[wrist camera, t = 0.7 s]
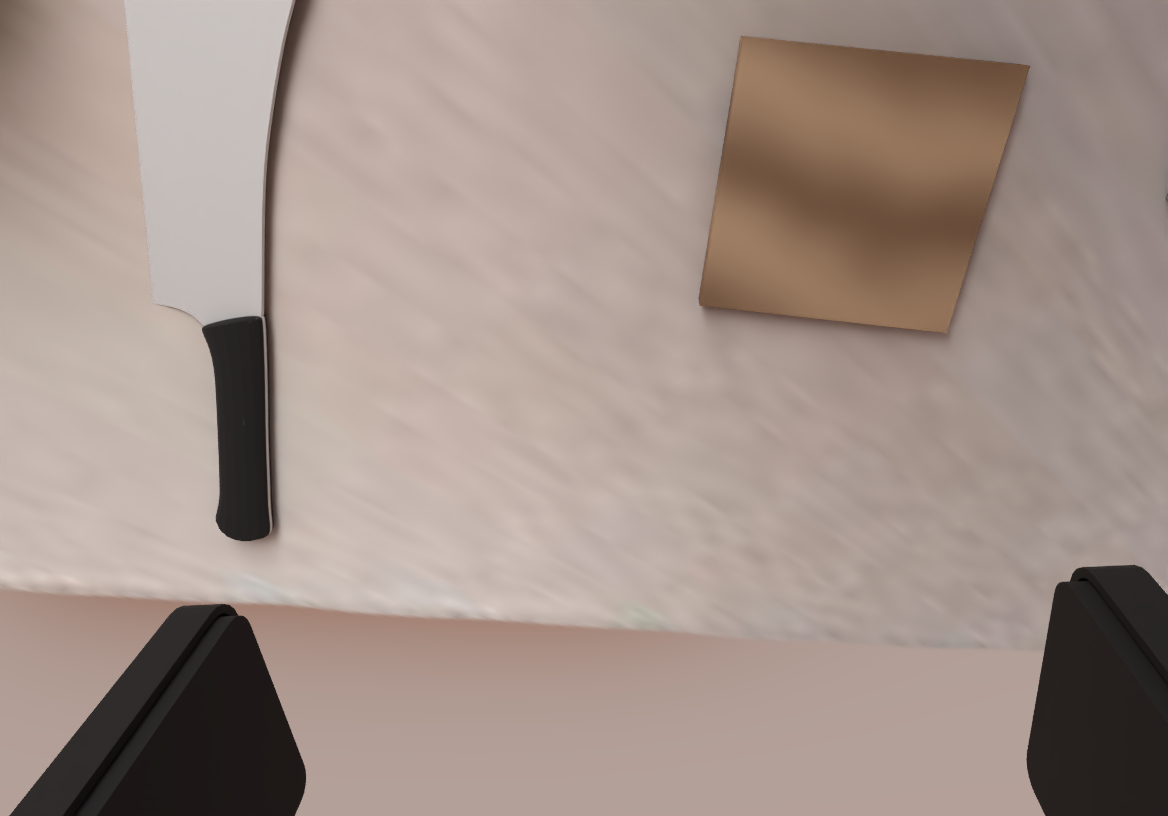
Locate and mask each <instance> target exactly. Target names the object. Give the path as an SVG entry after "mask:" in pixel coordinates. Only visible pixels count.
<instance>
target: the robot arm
mask: <svg viewBox="0 0 1168 816" xmlns="http://www.w3.org/2000/svg"><path fill="white" fill-rule="evenodd" d="M1027 769H1028V774H1029V779H1030V782H1031V785H1032V788H1033V790H1034V793H1035V795H1036V797H1037V799H1038V801H1039V803H1040V805H1041V807H1042V809H1043V812H1044V814H1045V815H1046V816H1168V595H1167V594H1166V593H1165V591H1164V590H1163V589H1162V588H1161V587H1160V586H1159V585H1158V583H1157V582H1156V581H1155V580H1154V579H1153V578H1152V576H1151V575H1150V574H1149V573H1148V572H1147V571H1145V570H1144V569H1143V568H1142V567H1139V566H1136V565H1124V566H1101V567H1081V568H1078V569H1076V570H1075V571H1074V573H1073V574H1072V577H1071V580H1070V582H1061V583H1059V584H1058V585H1057V586H1056V589H1055V593H1054V598H1053V604H1052V610H1051V616H1050V622H1049V628H1048V633H1047V639H1046V645H1045V651H1044V657H1043V663H1042V669H1041V674H1040V680H1039V686H1038V692H1037V698H1036V704H1035V710H1034V715H1033V721H1032V727H1031V733H1030V739H1029V745H1028V750H1027ZM305 783H306V770H305V766H304V763H303V760H302V758H301V756H300V753H299V750H298V748H297V745H296V742H295V740H294V737H293V734H292V732H291V729H290V727H289V724H288V721H287V719H286V716H285V714H284V711H283V709H282V706H281V703H280V701H279V698H278V695H277V693H276V690H275V688H274V685H273V682H272V680H271V677H270V675H269V672H268V669H267V667H266V664H265V661H264V659H263V656H262V654H261V651H260V648H259V646H258V643H257V641H256V638H255V636H254V633H253V630H252V628H251V625H250V623H249V621H248V620H247V619H246V618H245V617H244V616H238V614H237V613H236V611H235V609H234V608H232V607H231V606H230V605H226V604H215V605H192V606H182V607H179V608H177V609H176V610H174V611H173V612H172V613H171V614H170V615H169V617H168V618H167V619H166V620H165V622H164V623H163V624H162V625H161V627H160V628H159V629H158V630H157V632H156V633H155V634H154V635H153V637H152V638H151V639H150V640H149V642H148V643H147V644H146V645H145V647H144V648H143V649H142V651H141V652H140V653H139V654H138V656H137V657H136V658H135V659H134V661H133V662H132V663H131V664H130V665H129V667H128V668H127V669H126V670H125V672H124V673H123V674H122V675H121V677H120V678H119V679H118V681H117V682H116V683H115V684H114V685H113V687H112V688H111V689H110V691H109V692H108V693H107V694H106V695H105V697H104V698H103V699H102V701H101V702H100V703H99V704H98V706H97V707H96V708H95V709H94V711H93V712H92V713H91V714H90V716H89V717H88V718H87V719H86V721H85V722H84V723H83V724H82V726H81V727H80V728H79V729H78V731H77V732H76V733H75V734H74V736H73V737H72V738H71V739H70V741H69V742H68V743H67V745H66V746H65V747H64V748H63V749H62V751H61V752H60V753H59V754H58V756H57V757H56V758H55V759H54V761H53V762H52V763H51V764H50V766H49V767H48V768H47V769H46V771H45V772H44V773H43V774H42V776H41V777H40V778H39V780H38V781H37V782H36V783H35V784H34V786H33V787H32V788H31V789H30V791H29V792H28V793H27V794H26V796H25V797H24V798H23V799H22V801H21V802H20V803H19V804H18V806H17V807H16V808H15V809H14V811H13V812H12V813H11V815H10V816H295V814H296V811H297V809H298V807H299V805H300V802H301V800H302V797H303V794H304V789H305Z"/></svg>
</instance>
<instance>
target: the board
mask: <svg viewBox="0 0 1168 816" xmlns="http://www.w3.org/2000/svg"><path fill="white" fill-rule="evenodd" d="M1029 68H1030V66H1028V65H1021V64H1012V63H1002V62H992V61H982V60H972V59H962V58H952V57H943V56H933V55H923V54H913V53H903V52H893V51H883V50H873V49H863V48H853V47H844V46H834V45H824V44H814V43H804V42H794V41H784V40H774V39H764V38H754V37H745V36H741V39H740V45H739V51H738V57H737V63H736V70H735V76H734V82H733V88H732V95H731V101H730V107H729V113H728V119H727V126H726V132H725V138H724V144H723V151H722V157H721V163H720V169H719V175H718V182H717V188H716V194H715V200H714V207H713V213H712V219H711V225H710V231H709V238H708V244H707V250H706V256H705V263H704V269H703V275H702V281H701V287H700V294H699V304H700V306H709V307H718V308H727V309H736V310H744V311H753V312H762V313H771V314H780V315H789V316H798V317H807V318H816V319H825V320H834V321H843V322H852V323H861V324H870V325H878V326H887V327H896V328H905V329H914V330H923V331H932V332H941V333H947V331H948V327H949V324H950V321H951V318H952V315H953V311H954V308H955V305H956V302H957V299H958V295H959V292H960V289H961V286H962V283H963V279H964V276H965V273H966V270H967V267H968V263H969V260H970V257H971V254H972V250H973V247H974V244H975V241H976V238H977V234H978V231H979V228H980V225H981V222H982V218H983V215H984V212H985V209H986V206H987V202H988V199H989V196H990V193H991V190H992V186H993V183H994V180H995V177H996V173H997V170H998V167H999V164H1000V161H1001V157H1002V154H1003V151H1004V148H1005V145H1006V141H1007V138H1008V135H1009V132H1010V129H1011V125H1012V122H1013V119H1014V116H1015V113H1016V109H1017V106H1018V103H1019V100H1020V97H1021V93H1022V90H1023V87H1024V84H1025V80H1026V77H1027V74H1028V71H1029Z"/></svg>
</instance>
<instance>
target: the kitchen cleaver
mask: <svg viewBox="0 0 1168 816" xmlns="http://www.w3.org/2000/svg"><path fill="white" fill-rule="evenodd" d="M295 1H296V0H124V5H125V16H126V26H127V37H128V47H129V58H130V68H131V78H132V89H133V99H134V110H135V120H136V131H137V141H138V152H139V162H140V173H141V183H142V194H143V204H144V215H145V225H146V235H147V246H148V256H149V267H150V277H151V288H152V298H153V304H159V305H165V306H170V307H174V308H177V309H180V310H183V311H185V312H187V313H189V314H191V315H192V316H194V317H195V318H196V319H197V320H198V321H199V322H200V323H201V324H202V325H203V326H204V327H203V328H202V331H203V334H204V337H205V339H206V341H207V344H208V347H209V349H210V353H211V356H212V361H213V366H214V374H215V386H216V404H217V425H218V449H219V479H220V496H219V505H218V510H217V514H216V522H217V524H218V527H219V529H220V530H221V531H222V532H223V533H224V534H225V535H226V536H227V537H230V538H232V539H235V540H240V541H252V540H256V539H261V538H264V537H266V536H267V535H269V534H270V533H271V531H272V529H273V510H272V490H271V459H270V416H269V360H268V335H267V321H266V315H265V314H264V248H265V193H266V174H267V160H268V150H269V141H270V132H271V125H272V117H273V110H274V104H275V97H276V90H277V84H278V78H279V72H280V66H281V61H282V56H283V50H284V46H285V41H286V36H287V32H288V28H289V23H290V20H291V16H292V12H293V8H294V4H295Z"/></svg>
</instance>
